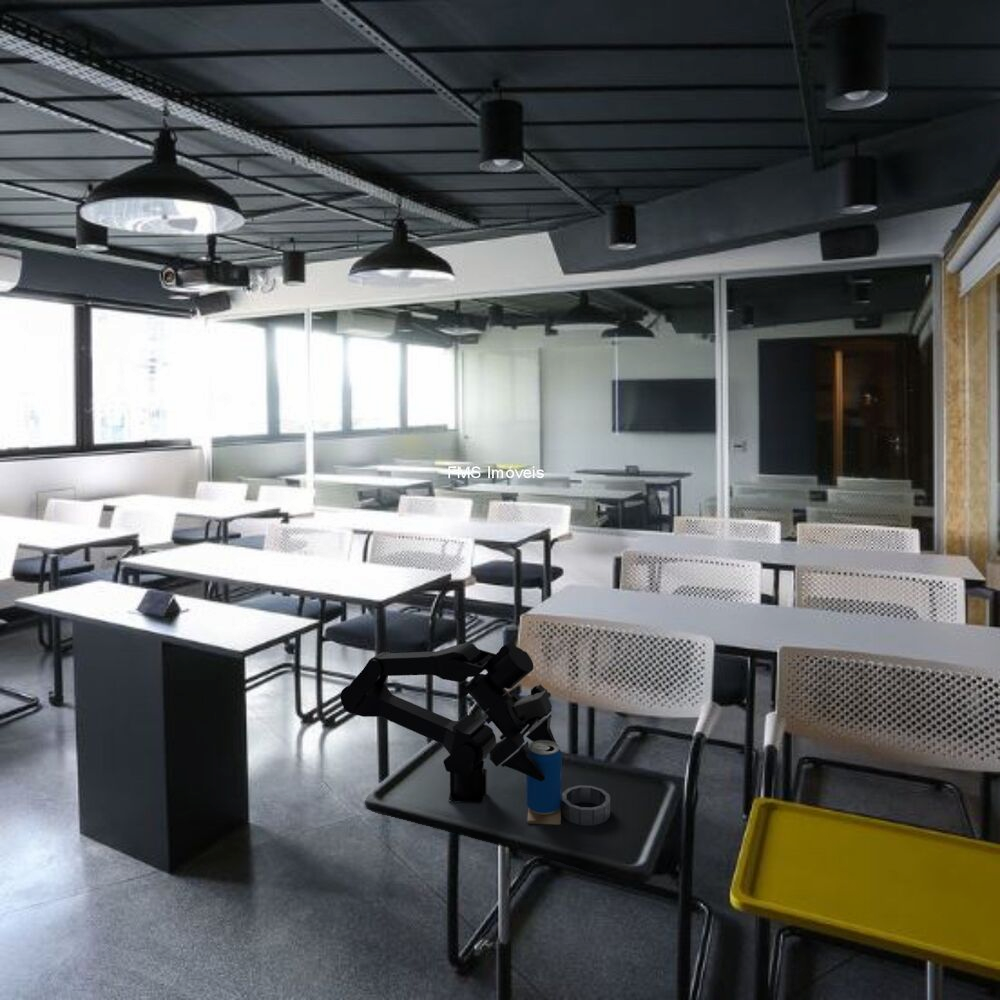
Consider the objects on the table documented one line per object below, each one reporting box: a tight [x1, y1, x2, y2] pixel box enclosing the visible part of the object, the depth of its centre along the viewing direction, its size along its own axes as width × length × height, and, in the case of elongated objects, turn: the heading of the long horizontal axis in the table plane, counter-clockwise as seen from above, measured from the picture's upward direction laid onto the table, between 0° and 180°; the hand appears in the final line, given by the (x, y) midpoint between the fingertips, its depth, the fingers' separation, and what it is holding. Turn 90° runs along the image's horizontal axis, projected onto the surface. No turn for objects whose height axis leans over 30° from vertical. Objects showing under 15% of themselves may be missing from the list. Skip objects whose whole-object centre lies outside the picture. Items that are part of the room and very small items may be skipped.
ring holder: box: [561, 784, 611, 827], centre depth 152 cm, size 9×9×3 cm
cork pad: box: [526, 806, 562, 826], centre depth 153 cm, size 6×9×1 cm, turn 176°
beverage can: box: [525, 740, 563, 815], centre depth 152 cm, size 6×6×12 cm
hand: (551, 768), depth 151 cm, fingers open, 9 cm apart
